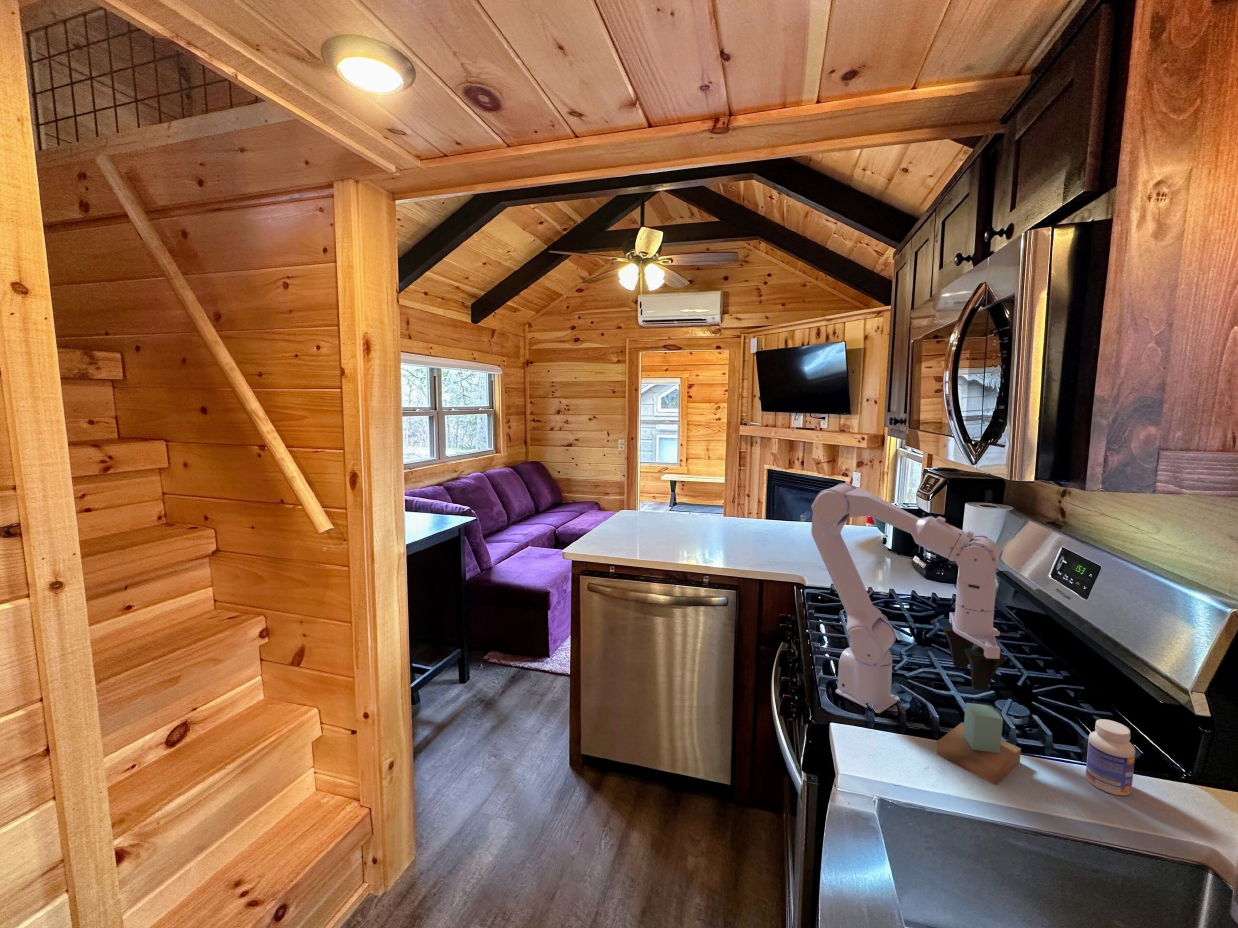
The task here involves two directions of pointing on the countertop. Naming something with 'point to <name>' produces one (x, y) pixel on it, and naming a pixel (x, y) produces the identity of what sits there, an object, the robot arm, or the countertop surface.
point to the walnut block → (978, 756)
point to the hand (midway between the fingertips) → (969, 677)
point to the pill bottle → (1110, 758)
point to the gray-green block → (982, 727)
